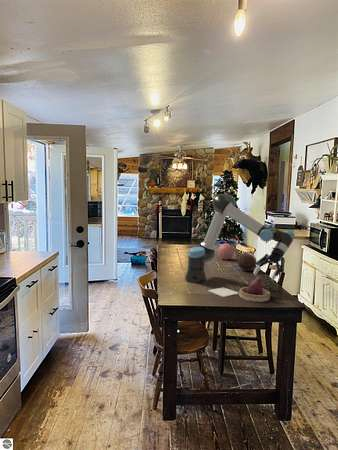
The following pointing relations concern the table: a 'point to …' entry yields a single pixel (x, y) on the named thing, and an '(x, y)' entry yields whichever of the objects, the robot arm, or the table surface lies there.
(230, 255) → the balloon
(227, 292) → the white mat
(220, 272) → the table surface
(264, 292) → the segmented wooden ring
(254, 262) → the wooden sphere
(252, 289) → the vegetable
